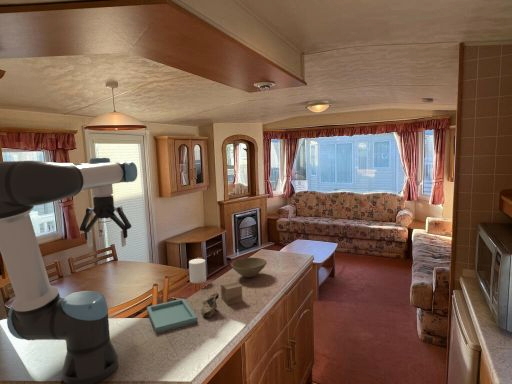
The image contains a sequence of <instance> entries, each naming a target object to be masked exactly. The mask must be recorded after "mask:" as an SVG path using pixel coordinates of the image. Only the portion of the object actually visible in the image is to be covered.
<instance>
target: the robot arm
mask: <svg viewBox="0 0 512 384" xmlns="http://www.w3.org/2000/svg"><path fill="white" fill-rule="evenodd" d="M137 178H138V167H137V165H136V163H134V162H132V161H114V162H112V161H111V159H110V158H109V157H91V158H90V159H89V162H86V163H85V162H81V163H77V164H73V163H71V162H49V161H42V160H19V161H18V160H17V161H16V160H14V161H12V160H11V161H9V160H5V161H1V160H0V254H1V258H2V260H3V263H4V266H5V269H6V271H7V275H8V278H9V281H10V283H11V286H12V289H13V293H14V295H15V298H14V299H13V301H12V303H11V307H10V309H9V311H8V314H7V316H8V318H6V324H7V329H8V332H9V333H10V334H11V335H12V336H13V337H14V338H15V339H18V340H26V341H43V340H45V341H51V340H52V341H56V340H59V341H65V345H66V354H65V358H64V362H63V365H62V369H61V370H62V371H61V374H62V375H61V376H62V381H63V383H64V384H96V383H99V382H101V381H103V380H105V379H107V378H108V377H109V376H111V375H112V374H113V373H114V372H115V371H116V370H117V368H118V365H119V358H118V357H119V356H118V353H117V351H116V349H115V347H114V345H113V343H112V341H111V336H110V324H109V307H108V303H107V302H108V301H107V299H106V296H105V295H104V294H102V293H100V292H99V291H95V290H81V291H75V292H72V293H69V294H67V295H66V296H64V297H61V295H60V293H59V292H60V291H59V289H58V287H57V286H54V285H51V283H50V280H49V275H48V272H47V270H46V266H45V262H44V259H43V256H42V255H43V254H42V252H41V250H40V246H39V243H38V242H39V241H38V239H37V236H36V232H35V229H34V225H33V222H32V219H31V215H30V214H31V212H32V211H33V209H34V207H35V206H42V205H45V204H50V203H53V202H57V201H61V200H64V199H68V198H72V197H75V196H77V195H79V194H80V193H81V192H82V191H87V190H92V196H93V197H92V201H93V207H87V208H86V209H85V215H84V217H83V220H82V222H81V225H80V226H79V231H80V232H84V238H85V240H87V248H88V249H91V248H93V247H94V242H93V231H92V230H91V229H92V228H93V226H94V225H95V224H96V222H97V221H98V220H99V219H100V220H102V219H111V220H112V221H113V222H114V223H115V224H116V225H117V226H118V227H119V228H120V229H121V230H120V241H121V247H122V248H124V247H125V246H126V245H127V241H126V239H127V238H128V235H129V234H128V230H130V229H131V228H132V226H133V225H132V224H131V223H130V221H129V219H128V217H127V216H126V214H125V212H124V209H123V206H122V205H121V206H117V207H115V202H114V201H115V200H114V195H113V194H114V189H113V185H114V184H119V183H133V182H135V181H136V180H137ZM115 212H116V213H117V214H118V216H119V218H118V216H117V215H116V214H115ZM93 213H94V214H95V215H94V216H93V217H92V219H91V220H90V218H91V215H92V214H93ZM120 219H121V220H120ZM89 221H90V222H89ZM88 222H89V223H88Z"/></svg>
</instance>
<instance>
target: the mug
mask: <svg viewBox="0 0 512 384" xmlns="http://www.w3.org/2000/svg"><path fill="white" fill-rule="evenodd" d="M188 268H189V270H188V271H189V282H190V283H191V284H202V283H204V282H206V281H207V267H206V259H205V258H204V259H203V258H194V259H191V260H189V261H188Z"/></svg>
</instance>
